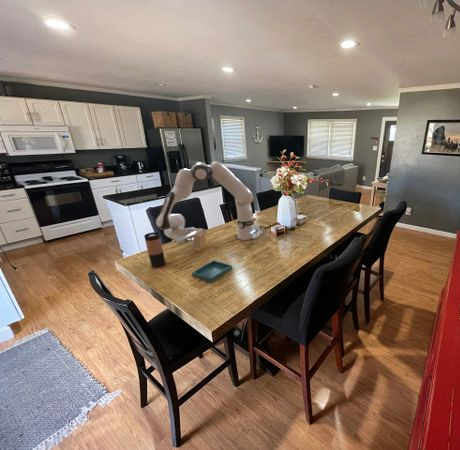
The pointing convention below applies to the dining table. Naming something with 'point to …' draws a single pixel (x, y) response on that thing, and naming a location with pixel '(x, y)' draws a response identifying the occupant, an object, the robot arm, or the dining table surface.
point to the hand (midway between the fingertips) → (198, 238)
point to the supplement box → (199, 239)
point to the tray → (212, 271)
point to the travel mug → (155, 249)
